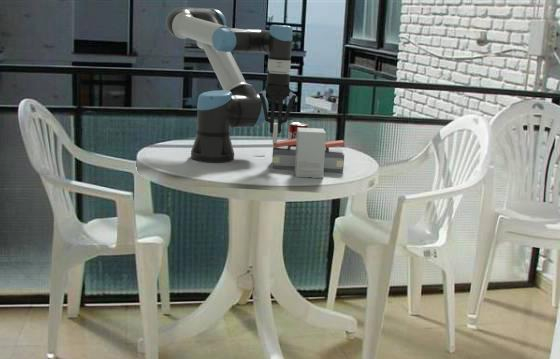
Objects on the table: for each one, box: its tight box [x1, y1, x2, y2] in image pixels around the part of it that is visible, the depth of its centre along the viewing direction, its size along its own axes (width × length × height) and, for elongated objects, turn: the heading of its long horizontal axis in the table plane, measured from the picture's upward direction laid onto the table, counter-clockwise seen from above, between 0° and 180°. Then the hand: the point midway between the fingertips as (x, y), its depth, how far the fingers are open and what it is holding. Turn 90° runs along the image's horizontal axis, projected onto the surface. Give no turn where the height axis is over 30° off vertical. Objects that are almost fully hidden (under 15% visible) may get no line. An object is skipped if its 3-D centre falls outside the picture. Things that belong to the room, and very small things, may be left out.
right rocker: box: [325, 139, 345, 149], centre depth 234 cm, size 11×4×1 cm, turn 90°
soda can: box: [287, 122, 310, 147], centre depth 253 cm, size 7×7×12 cm
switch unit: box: [271, 145, 345, 173], centre depth 235 cm, size 24×10×7 cm, turn 90°
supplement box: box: [294, 127, 327, 179], centre depth 223 cm, size 9×9×15 cm
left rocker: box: [272, 139, 296, 148], centre depth 234 cm, size 11×4×1 cm, turn 90°
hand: (274, 142), depth 234 cm, fingers closed
